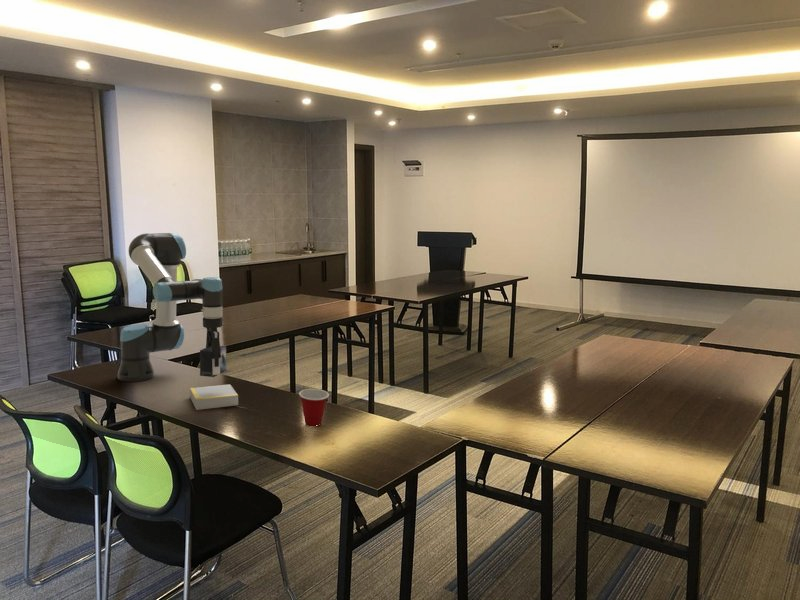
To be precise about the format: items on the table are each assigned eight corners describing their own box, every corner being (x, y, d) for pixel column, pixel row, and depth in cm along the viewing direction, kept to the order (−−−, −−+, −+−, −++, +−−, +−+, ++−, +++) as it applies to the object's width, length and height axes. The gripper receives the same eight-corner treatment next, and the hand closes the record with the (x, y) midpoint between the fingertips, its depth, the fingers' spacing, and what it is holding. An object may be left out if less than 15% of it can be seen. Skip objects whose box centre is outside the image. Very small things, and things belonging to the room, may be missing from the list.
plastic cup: (316, 431, 224) (316, 399, 222) (292, 425, 229) (292, 393, 227) (334, 423, 233) (335, 391, 231) (311, 417, 238) (312, 386, 237)
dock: (190, 397, 256) (190, 387, 256) (230, 393, 263) (230, 384, 263) (196, 409, 242) (196, 399, 242) (238, 405, 249) (238, 395, 249)
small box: (214, 377, 245) (214, 351, 243) (199, 376, 246) (198, 350, 245) (227, 370, 255) (226, 345, 254) (212, 369, 257) (212, 344, 255)
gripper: (198, 312, 256) (199, 363, 260) (207, 322, 235) (209, 379, 238) (216, 311, 260) (217, 362, 263) (228, 321, 238) (229, 377, 242)
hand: (213, 370), depth 251 cm, fingers closed on small box, 12 cm apart
